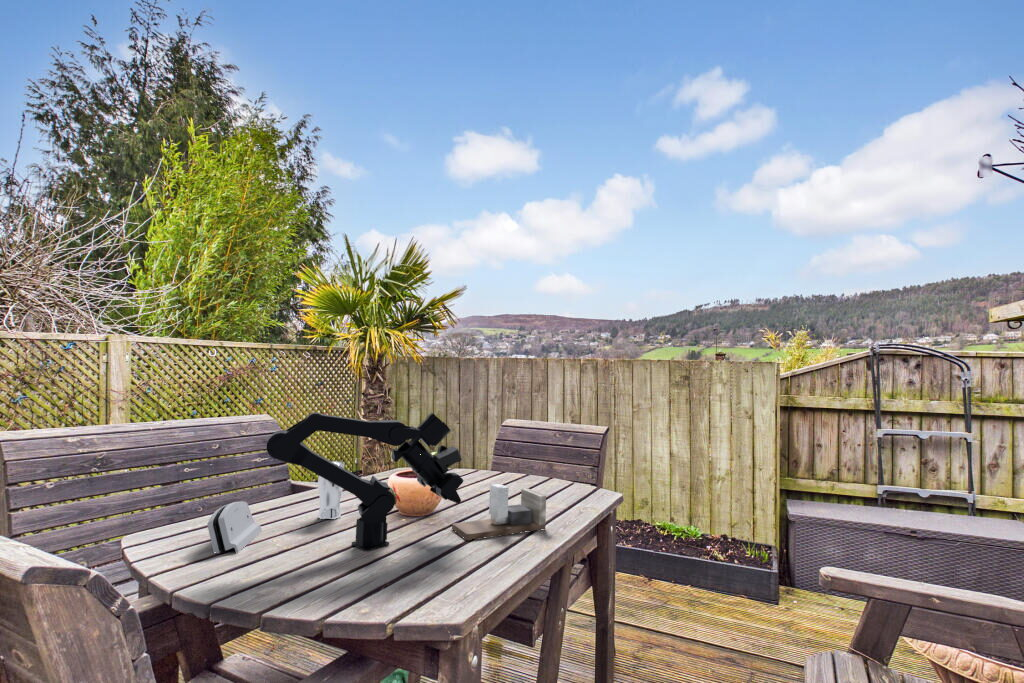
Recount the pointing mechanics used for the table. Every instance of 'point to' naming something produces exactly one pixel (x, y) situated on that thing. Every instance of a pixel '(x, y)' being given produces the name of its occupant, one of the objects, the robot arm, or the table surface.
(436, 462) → the robot arm
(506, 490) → the white l-shaped block
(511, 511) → the plate
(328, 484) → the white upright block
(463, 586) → the table surface
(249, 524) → the grey rounded panel block
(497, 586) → the table surface
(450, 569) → the table surface
